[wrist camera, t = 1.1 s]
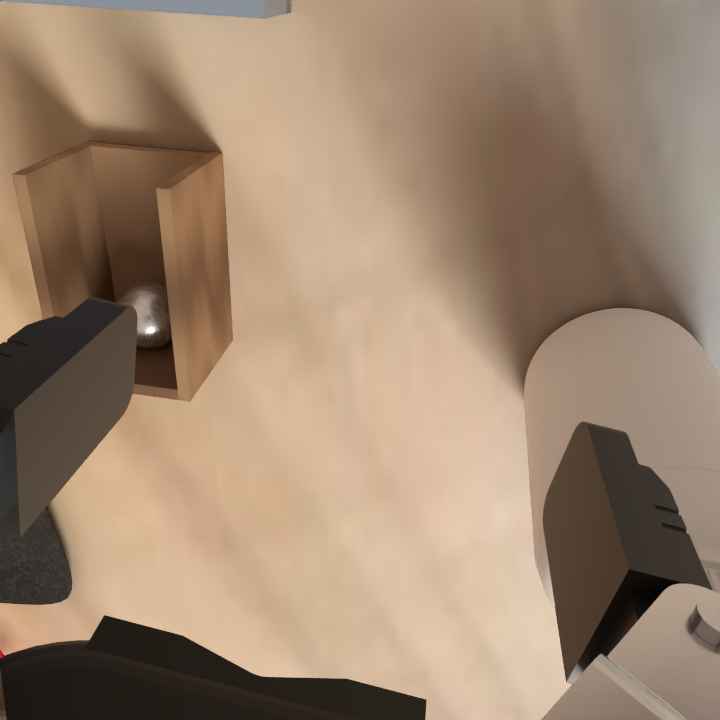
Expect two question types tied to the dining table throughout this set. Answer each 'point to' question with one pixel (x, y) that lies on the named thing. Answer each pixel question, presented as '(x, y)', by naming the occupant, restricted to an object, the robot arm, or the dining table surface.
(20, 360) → the robot arm
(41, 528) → the sushi plate
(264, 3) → the dish
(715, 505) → the pill bottle
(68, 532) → the dining table surface
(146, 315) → the ball
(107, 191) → the channel
